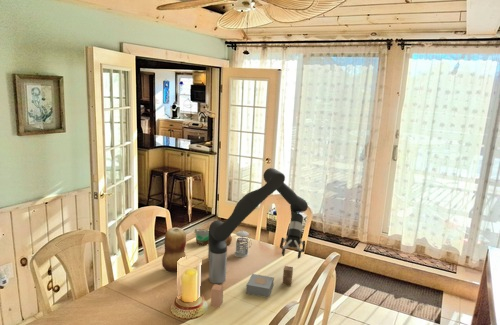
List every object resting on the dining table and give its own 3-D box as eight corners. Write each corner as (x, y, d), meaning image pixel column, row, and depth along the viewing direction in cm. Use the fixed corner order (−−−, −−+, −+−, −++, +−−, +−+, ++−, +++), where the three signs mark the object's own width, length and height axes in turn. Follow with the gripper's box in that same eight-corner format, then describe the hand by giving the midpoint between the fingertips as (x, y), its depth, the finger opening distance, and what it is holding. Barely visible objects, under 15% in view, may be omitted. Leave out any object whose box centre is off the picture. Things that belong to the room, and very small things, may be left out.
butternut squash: (178, 278, 196) (178, 235, 191) (157, 273, 200) (157, 231, 195) (190, 267, 208) (191, 227, 204) (171, 262, 213) (171, 223, 208)
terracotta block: (210, 305, 172) (211, 288, 170) (214, 300, 176) (214, 284, 174) (219, 307, 171) (220, 290, 169) (222, 302, 175) (223, 285, 173)
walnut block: (282, 284, 194) (283, 269, 192) (283, 280, 198) (284, 265, 197) (290, 286, 193) (291, 270, 191) (291, 282, 197) (293, 267, 196)
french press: (240, 249, 236) (241, 213, 231) (254, 254, 229) (256, 217, 225) (231, 254, 228) (232, 217, 223) (245, 259, 222) (247, 221, 217)
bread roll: (222, 247, 238) (223, 236, 237) (211, 239, 250) (212, 228, 248) (234, 244, 244) (235, 233, 242) (223, 236, 256) (223, 226, 254)
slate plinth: (246, 293, 184) (246, 284, 183) (252, 282, 195) (252, 273, 194) (268, 297, 181) (269, 288, 180) (273, 286, 192) (273, 277, 191)
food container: (191, 245, 239) (191, 231, 237) (194, 241, 245) (194, 227, 243) (209, 247, 237) (209, 232, 235) (211, 243, 243) (212, 229, 241)
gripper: (282, 226, 209) (277, 252, 200) (307, 229, 205) (303, 256, 196) (283, 231, 215) (279, 257, 206) (307, 235, 211) (303, 261, 202)
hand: (290, 256), depth 201 cm, fingers open, 8 cm apart
